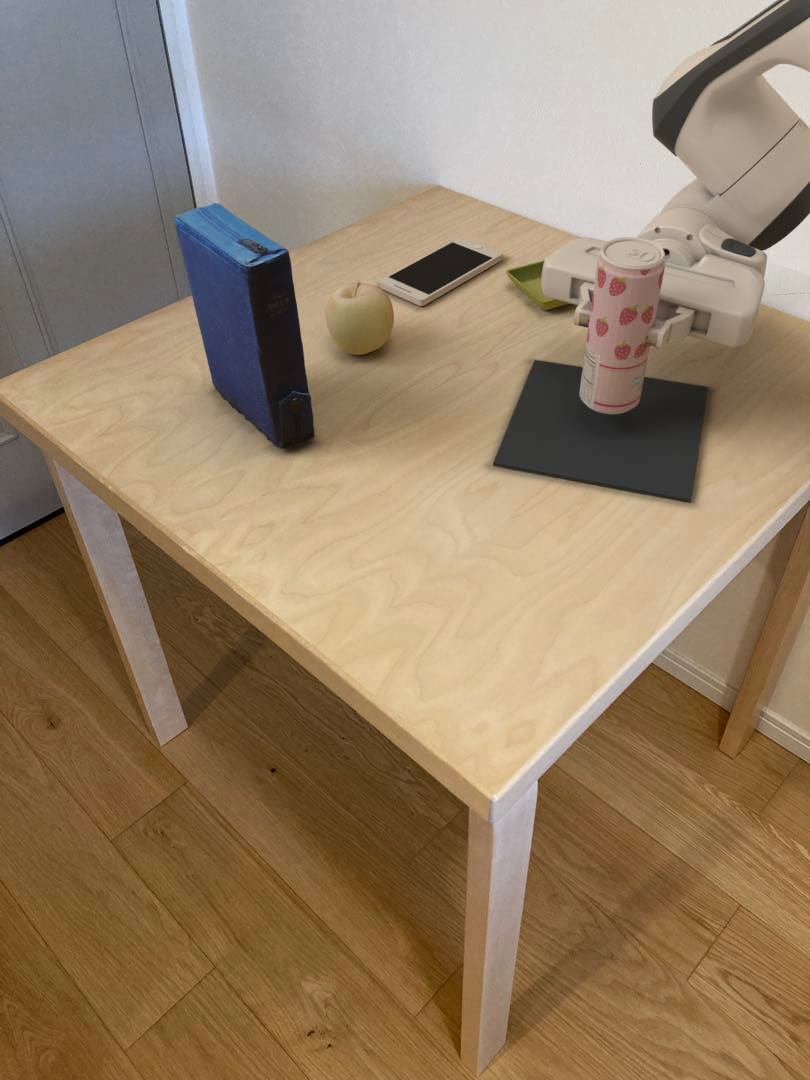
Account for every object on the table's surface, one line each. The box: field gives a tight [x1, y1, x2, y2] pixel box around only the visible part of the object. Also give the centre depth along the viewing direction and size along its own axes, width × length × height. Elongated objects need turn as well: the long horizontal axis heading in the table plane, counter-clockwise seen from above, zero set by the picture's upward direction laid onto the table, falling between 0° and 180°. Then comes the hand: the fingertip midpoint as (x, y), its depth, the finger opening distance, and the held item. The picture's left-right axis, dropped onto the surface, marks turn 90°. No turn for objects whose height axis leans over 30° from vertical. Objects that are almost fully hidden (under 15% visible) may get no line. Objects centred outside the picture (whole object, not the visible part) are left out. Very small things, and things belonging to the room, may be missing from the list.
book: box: [173, 202, 316, 450], centre depth 83 cm, size 14×5×20 cm, turn 37°
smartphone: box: [378, 236, 504, 307], centre depth 110 cm, size 7×15×1 cm, turn 137°
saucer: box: [505, 259, 572, 311], centre depth 105 cm, size 9×9×2 cm
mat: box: [492, 359, 709, 503], centre depth 87 cm, size 18×18×1 cm
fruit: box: [324, 281, 395, 356], centre depth 96 cm, size 8×7×8 cm
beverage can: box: [580, 236, 665, 414], centre depth 80 cm, size 6×6×15 cm
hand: (617, 329), depth 79 cm, fingers closed on beverage can, 5 cm apart
